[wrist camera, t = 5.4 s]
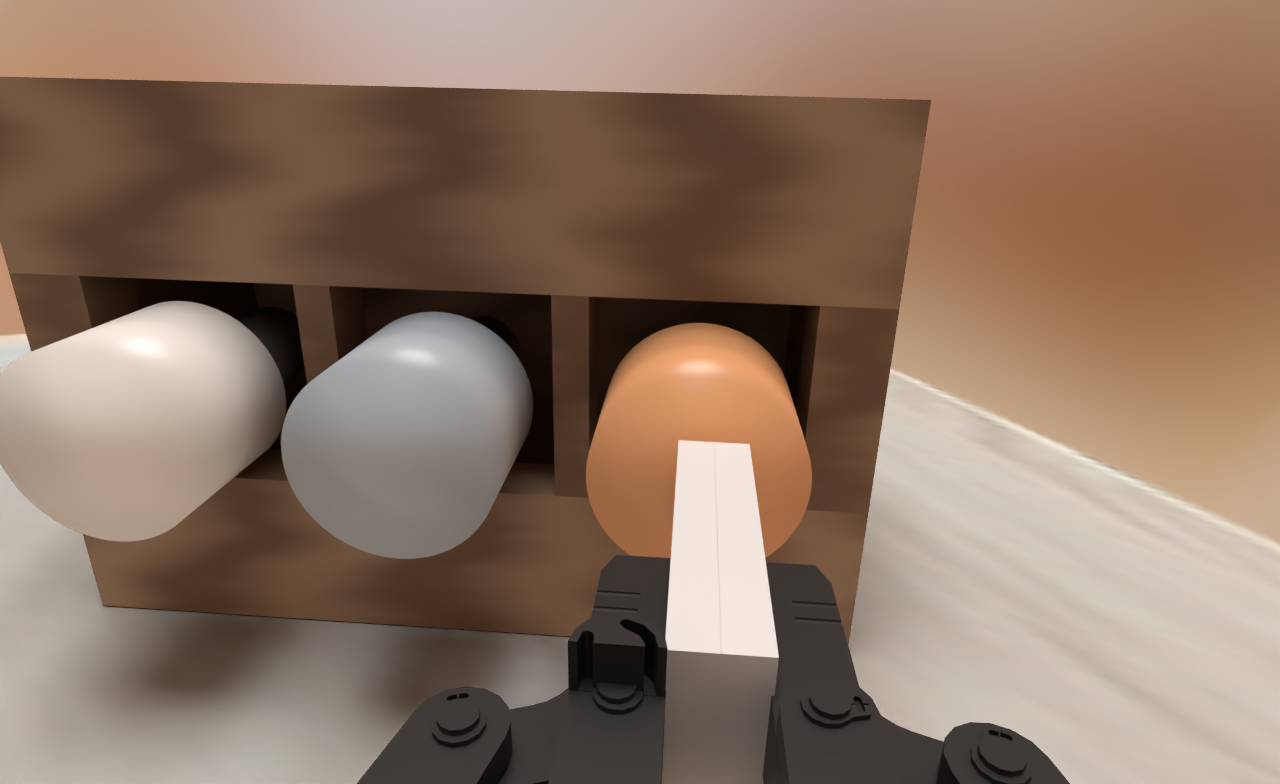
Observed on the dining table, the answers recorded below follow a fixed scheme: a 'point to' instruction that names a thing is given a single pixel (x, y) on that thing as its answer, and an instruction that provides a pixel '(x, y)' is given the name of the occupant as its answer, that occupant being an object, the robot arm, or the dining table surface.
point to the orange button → (694, 433)
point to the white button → (145, 414)
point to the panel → (469, 294)
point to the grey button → (410, 434)
